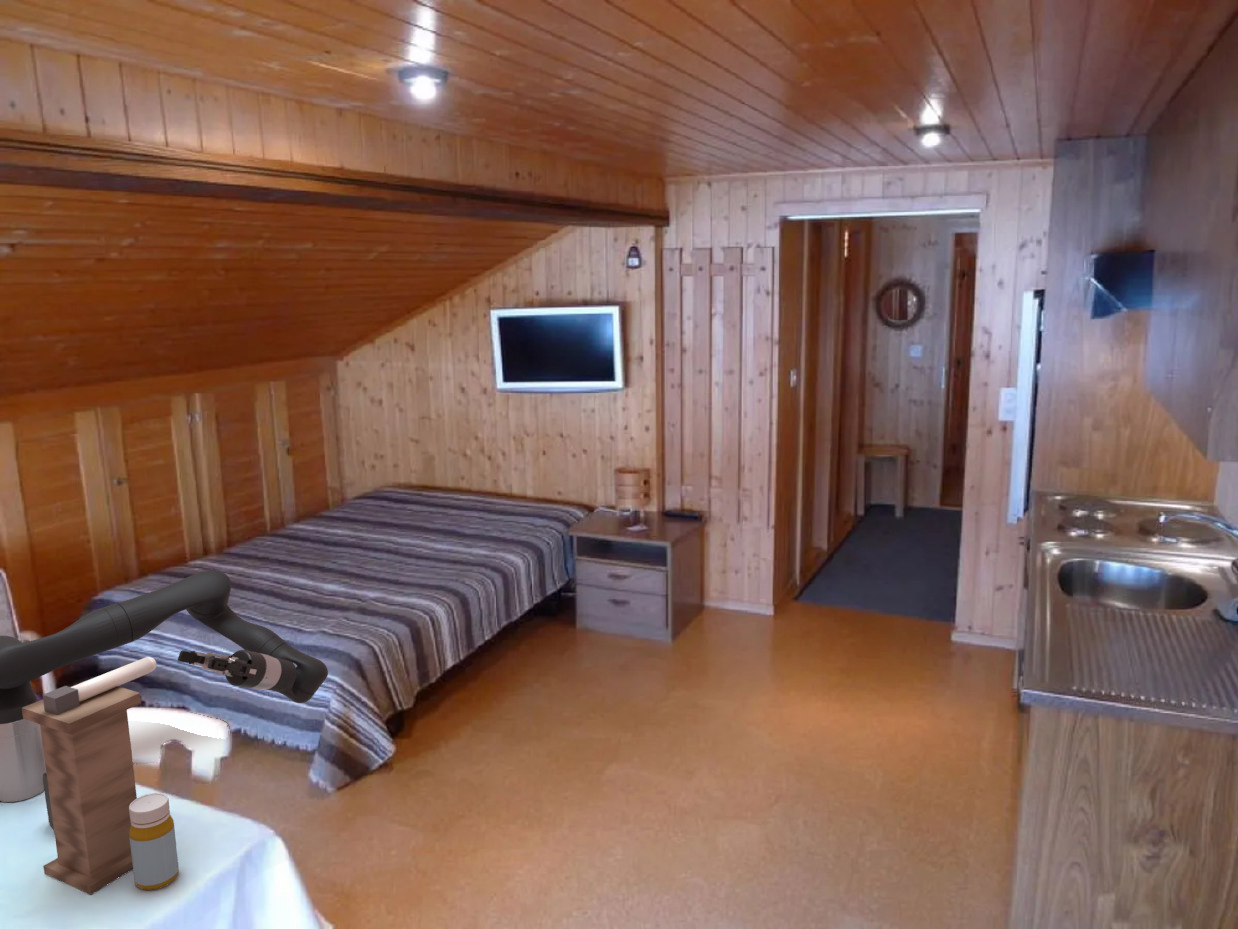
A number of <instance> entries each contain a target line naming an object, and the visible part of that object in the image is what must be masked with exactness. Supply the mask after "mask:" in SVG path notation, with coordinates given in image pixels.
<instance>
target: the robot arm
mask: <svg viewBox="0 0 1238 929" xmlns="http://www.w3.org/2000/svg"><path fill="white" fill-rule="evenodd" d="M231 591H232V580H231V578H230V577H229V576H228V575H227V574H226V573H225V572H222V571H220V570H213V569H212V570H211V569H210V570H205V571H204V570H203V571H200V572H196V573H194V574H192V575H189V576H187V577H184V578H183V579H181V580H179V581H176V582H174V583H171V584H169V585H167V586H164V587H162V588H159V589H156V590H153V591H149V592H147V593H144V594H141V595H139V596H136V597H133V598H130V599H127V600H123V601H120V602H117V603H116V602H115V603H113V604H109V605H107V606H105V607H101V608H98V609H95V610H92V611H91V612H89V613H87V614H85V615H83V616H82V617H80V618H79V619H77V620H76V621H75V622H73V623H72V624H70V625H69V626H68V627H65V628H64V629H62V630H60V631H58V632H56V633H53V634H50V635H47V636H44V637H40V638H37V639H32V640H29V641H24V642H22V641H21V640H19V639H18V638H16V637H13V636H10V635H0V802H4V803H12V802H13V803H14V802H20V801H24V800H28V799H31V798H34V797H36V796H37V795H39V794H41V793H42V792H44V785H43V774H44V773H46V766H45V759H44V751H43V744H42V736H41V729H40V724H37V723H34V722H32V721H29V720H26V719H23V714H22V708H23V707H25V706H28V705H30V704H33V703H35V702H38V698H37V695H36V693H35V691H34V689H33V687H32V684H31V682H32V681H33V680H36V679H39V678H40V677H42V676H45V675H46V674H49V673H51V672H53V671H55V670H58V669H60V668H62V667H65V666H67V665H69V664H72V663H75V662H79V661H82V660H84V659H87V658H91V657H94V656H97V655H98V654H101V653H104V652H108V651H111V650H113V649H117V648H119V647H122V646H124V645H127V644H131V643H133V642H135V641H137V640H139V639H141V638H143V637H145V636H146V635H147V634H149V633H151V632H152V631H153V630H155V629H156V628H157V627H158V626H160V625H161V624H163V623H164V622H165V621H167V620H168V619H169V618H171V617H172V616H174V615H176V614H178V613H180V612H183V611H185V610H186V611H187V613H188V614H189V616H191V617H192V618H193V619H194V620H196V621H198V622H199V623H201V624H203V625H205V626H206V627H208V628H210V629H211V630H213V631H215V632H216V633H218V634H219V635H222V636H224V637H225V638H226V639H228V640H230V641H231V642H233V643H235V645H238V646H239V647H240V648H242V649H239V650H236V651H235V652H233V654H231V655H227V654H216V653H213V652H207V653H202V652H199V651H195V650H192V651H191V650H190V651H186V650H180V652H179V654H178V658H177V661H178V662H179V663H186V664H189V665H192V666H199V667H202V669H203V670H205V671H210V672H215V673H217V674H219V675H224V676H225V679H226V681H227V682H228V683H229V684H230V685H232V686H235V687H239V688H247V689H252V690H267V691H272V692H277V693H279V694H281V695H283V696H284V697H287V698H288V699H289V700H291V701H292V702H294V703H297V704H304V703H307V702H308V701H310V700H311V699H312V698H313V696H314V695H315V694H316V692H317V691H318V689H319V688H320V687H321V686H322V685H323V683H324V682H325V680H326V679H327V677H328V675H329V670H328V667H327V666H326V663H324V662H323V661H322V660H320V659H318V658H316V657H313V656H311V655H308V654H306V653H304V652H302V651H300V650H298V649H296V648H294V647H293V646H291V645H290V644H289V643H288V642H286V641H285V639H282V637H280V635H278V633H276V632H274V631H273V630H272V629H269V628H268V627H265V626H263V625H259V624H256V623H252V622H249V621H247V620H244V619H243V618H241V617H240V616H239V615H238V614H236V613H235V611H234V610H232V608H231V607H230V606H229V604H228V603H229V599H230V594H231Z"/></svg>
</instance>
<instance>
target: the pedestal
mask: <svg viewBox="0 0 1238 929" xmlns="http://www.w3.org/2000/svg"><path fill="white" fill-rule="evenodd" d="M79 703H80V706H78V707H76V708H73V709H71V710H68V711H66V712H64V713H61V714H59V715H55V714H52V713H49V712H46V711H45V710H44V702H43V699H41V700H37V702H35V703H33V704H30V705H28V706H25V707H23V708H22V714H23V719H26V720H29V721H32V722H34V723H37V724H40V729H41V736H42V744H43V751H44V759H45V766H46V774H47V781H48V789H49V796H50V804H51V811H52V819H53V826H54V829H53V833H54V839H55V840H54V841H55V848H56V856H57V858H54V859H53V860H51V861H49V862H47V863H46V864H44V865H43V871H44V872H43V873H44V875H46V876H48V877H51V878H53V879H54V880H58V881H60V882H61V883H63V884H66V885H68V886H70V887H72V888H75V889H77V890H79V891H82V892H83V893H86V894H88V895H90V896H92V895H93V894H95V893H96V892H98V891H100V890H101V889H102V888H105V887H107V886H108V885H109V883H110V884H111V883H113V882H114V881H116V880H117V878H118V877H119V878H120V877H123V876H124V875H126V874H128V873H129V872H131V871H133V863H132V854H131V846H130V837H129V830H130V826H131V820H130V813H129V806H130V804H131V803H132V802H133V801H134V800H135V799H137V798H138V797H137V788H136V779H135V770H134V763H133V762H134V761H133V753H132V746H131V745H132V744H131V735H130V726H129V718H128V710H129V709H131V708H134V707H136V706H138V705H140V704H142V699H141V692H139V691H135V690H132V689H128V688H125V687H120V686H117V687H115V688H112V689H110V690H107V691H105V692H103V693H100V694H98V695H95V696H93V697H91V698H88V699H86V700H83V701H81V702H79ZM128 871H129V872H128ZM125 873H126V874H125ZM122 875H123V876H122ZM119 878H118V879H119ZM107 884H108V885H107Z"/></svg>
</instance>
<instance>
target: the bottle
mask: <svg viewBox="0 0 1238 929" xmlns="http://www.w3.org/2000/svg"><path fill="white" fill-rule="evenodd" d="M170 811H171V810H170V800H169V797H168V795H167V794H165V793H161V792H152V793H148V794H144V795H141V796H139V797H137V799H135V800H134V801H133V802H132V803H131V804H130V806H129V813H130V820H131V826H130V830H129V837H130V846H131V854H132V863H133V869H132V871H133V878H134V883H135V885H136V887H138V888H140V889H142V890H143V889H144V891H154V889H155V890H158V889H162V888H164V887H166V886H168V885H169V884H171V883H172V882H173V881H174V880H175V879H176V878H177V876H178V875H179V871H180V870H179V860H178V859H179V857H178V850H177V841H176V838H177V837H176V830H175V823H174V819H173V817H172V815H171V812H170Z"/></svg>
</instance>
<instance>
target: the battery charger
mask: <svg viewBox="0 0 1238 929" xmlns="http://www.w3.org/2000/svg"><path fill="white" fill-rule="evenodd" d="M43 785H44V791H43V792H44V798H45V805H46V811H47V812H46V813H47V818H48V824H49V825H50V826H51V828H52V829H53V830H54V826H53V819H52V811H51V804H50V796H49V789H48V781H47V774H46V773H44V774H43Z"/></svg>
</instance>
